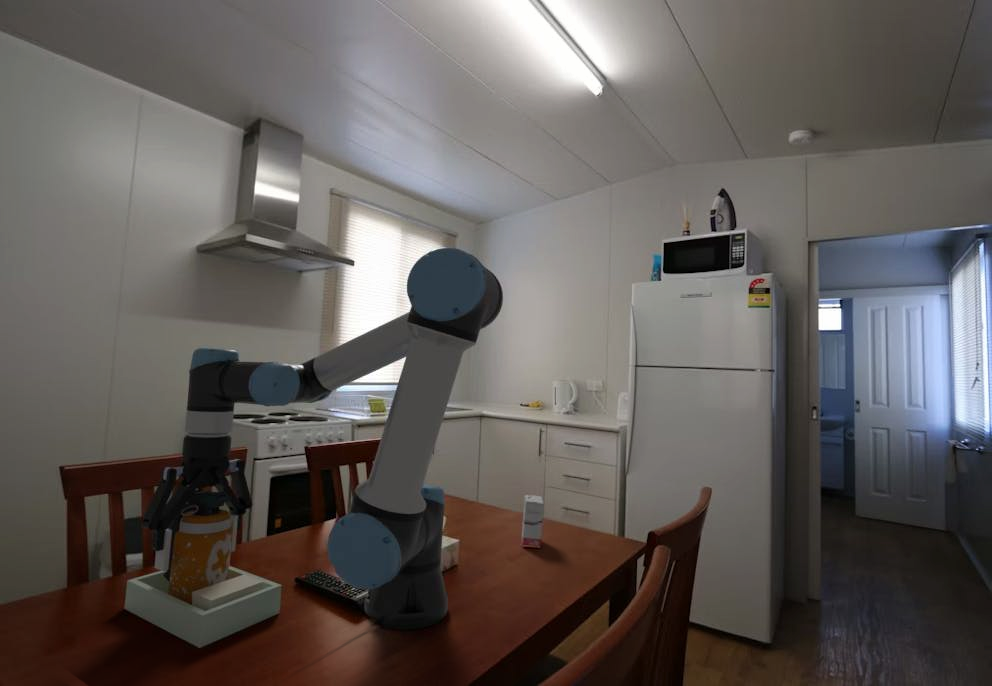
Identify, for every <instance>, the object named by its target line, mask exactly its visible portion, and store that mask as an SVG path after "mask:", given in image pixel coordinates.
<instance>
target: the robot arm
mask: <svg viewBox="0 0 992 686" xmlns="http://www.w3.org/2000/svg"><path fill="white" fill-rule="evenodd" d="M406 294H407V297H408V300H409V302H410V305H411V307H410V310H409V311H408V312H406V313H404V314H402V315H400V316H398V317H395V318H394V319H392V320H389V321H387V322H385V323H383V324H382V325H379V326H377V327H375V328H373V329H371V330H369V331H367V332H364V333H363V334H361V335H359V336H356V337H354V338H352V339H350V340H348V341H346V342H343V343H342V344H340V345H337V346H336V347H333V348H332V349H330V350H328V351H325V352H324V353H321V354H319V355H317V356H316V357H314V358H311V359H309V360H307V361H305V362H302V363H300V364H297V363H296V364H294V363H282V362H277V361H275V362H274V361H266V362H265V361H242V360H240V359H239V358H240V357H239V352H238V351H237V350H233V349H223V348H206V347H201V348H196V349H194V351H193V353H192V356H191V361H190V362H191V363H190V366H189V367H190V368H189V370H188V373H189V377H188V378H189V381H188V391H187V404H186V414H185V425H184V432H185V433H186V435H185V436H184V437H183V443H182V452H181V455H182V461H181V464H180V466H176V467H175V466H174V467H170V466H163V467H162V468H161V471H160V472H161V473H160V481H159V483H158V485H157V487H156V489H155V491H154V494H153V495H152V497H151V500H150V502H149V505H148V506H147V509H146V511H145V513H144V515H143V517H142V519H141V522H140V527H141V528H144V529H147V530H150V531H152V538H151V550H153V551H154V552H155V558H154V568H155V569H156V570H158V571H167V570H168V566H169V556H170V545H171V535H172V530H171V529H170V528H169V526H170V525H171V524H172V521H173V519H174V518H175V516H176V515H177V513H178V512H179V510H180V509H181V507H182V506H183V504H184V503H185V502H186V500H187V499H188V497H189V496H190V495H191V494H192V493H194V491H196V490H198V489H200V488H202V489H204V488H206V487H210V488H211V487H215V489H216V492H226V496H230V497H231V501H229V502H226V503H225V504H226V507H227V508H228V509H229V510H228V511H230V512H229V514H230V516H231V521H230V528H232V530H233V535H232V544H231V553H233V552H235V551H236V545H237V534H238V532H239V531H240V530H241V523H242V516H244V515H245V514H246V513H247V509H248V510H249V509H251V508H252V507H253V502H252V498H251V493H250V489H249V486H248V482H247V478H246V474H245V463H246V462H245V460H244V459H238V458H232V459H231V460H230V459H229V456H230V454H231V450H232V449H231V448H232V436H231V435H230V433H232V432H233V427H234V413H235V404H237V403H239V404H248V405H257V406H263V407H268V408H269V407H284V406H288V405H289V404H296V403H297V404H299V403H302V404H303V403H306V404H313V403H316V402H320V401H323V400H325V399H327V398H328V397H330V395H331V393H333V391H335V390H337V389H340V388H341V387H343V386H345V385H348V384H351V383H352V382H355V381H357V380H359V379H361V378H363V377H365V376H368V375H370V374H372V373H375V372H376V371H378V370H381V369H383V368H384V367H387V366H390V365H391V364H394V363H396V362H398V361H400V360H403V359H404V358H405V359H404V363H403V366H402V370H401V371H400V376H399V380H398V382H397V385H396V389H395V392H394V395H393V399H392V401H391V405H390V408H389V411H388V414H387V419H386V422H385V423H384V424H385V425H384V426H383V427H384V428H383V431H382V434H381V436H380V437H381V438H380V441H379V444H378V447H377V450H376V454H375V456H374V460H373V464H372V467H371V470H370V474H369V476H368V479H365V481H363V482H361V483H359V484H358V485H356V488H355V490H354V493H353V496H352V498H351V503H350V506H349V509H348V512H347V514H345V515H343V516H342V517H340V518H339V519H338V520H337V521H336V523H335V524H334V525H333V526H332V527H331V530H330V533H329V534H328V538H327V544H326V546H327V555H328V559H329V560H328V561H329V563H330V564H331V565H332V566H333V568H334V572H335V574H336V575H337V576H338V578H340V580H342V581H343V582H344V583H345V584H347V585H349V586H351V587H354V588H355V589H359V590H360V589H361V590H368V591H367V593H366V596H365V597H364V598H365V599H364V607H363V608H364V609H363V610H364V613H365V615H366V617H368V618H369V619H371V620H372V621H375V622H372V624H374V625H376V626H378V627H381V628H385V629H391V630H399V631H400V630H401V631H403V630H404V631H405V630H406V631H407V630H415V629H416V630H417V629H421V628H426V627H430V626H433V625H435V624H437V623H439V622H441V621H442V620H443V619H444V618H445V617H446V616H447V613H448V603H449V599H448V598H449V597H448V593H447V591H446V586H445V581H444V576H443V573H442V570H441V569H442V568H441V563H442V561H441V560H442V549H443V547H442V546H443V530H444V514H445V508H446V503H445V491H444V489H443V488H442V487H440V486H439V485H436V484H430V483H425V479H426V476H427V472H428V469H429V466H430V462H431V460H432V456H433V453H434V450H435V446H436V443H437V440H438V437H439V432H440V430H441V427H442V424H443V420H444V418H445V417H444V416H445V415H446V410H447V407H448V404H449V401H450V398H451V394H452V390H453V388H454V384H455V381H456V377H457V375H458V372H459V368H460V365H461V361H462V358H463V355H464V353H465V351H468V349H471V348H472V347H474V346H475V345H476V344H477V340H478V338H479V333H480V331H481V330H482V329H485V328H487V327H488V326H489V325H491V324H492V323H493V322H494V321H495V320H496V318H497V317H498V316H499V314H500V312H501V310H502V307H503V301H504V293H503V288H502V285H501V283H500V281H499V279H498V277H497V276H496V275H495V273H493V272H492V271H491V270H489V269H488V268H487V267H485V266H484V265H483V263H482V262H481V261H480V260H479V259H478V258H477V257H476V256H474V255H473V254H471V253H468V252H466V251H464V250H463V249H460V248H456V247H448V246H447V247H439V248H435V249H432V250H430V251H428V252H427V253H425V254H423V255H422V256H421V257H419V259H417V261H415V263H414V264H413V266H412V267H411V269H410V271H409V274H408V277H407V280H406ZM227 471H229V472H230V477H231V481H232V485H233V488H234V491H233V490H232V487H231V486H230V481H228V479H227V477H226V475H225V474H226V472H227ZM180 476H182V478H181V480H180V482H179V483H178V484H177V486H176V490H175V491H174V493H173V494H172V492H173V490H174V487H175V485H176V480H177V481H178V480H179V478H180ZM171 494H172V496H171Z"/></svg>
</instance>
